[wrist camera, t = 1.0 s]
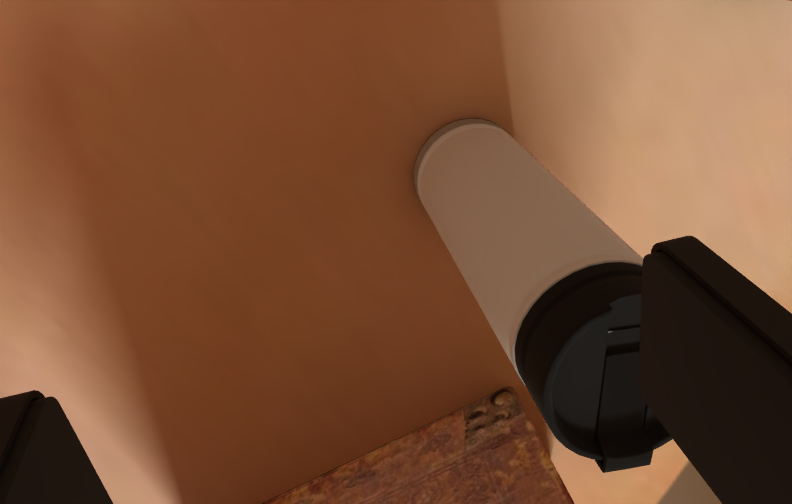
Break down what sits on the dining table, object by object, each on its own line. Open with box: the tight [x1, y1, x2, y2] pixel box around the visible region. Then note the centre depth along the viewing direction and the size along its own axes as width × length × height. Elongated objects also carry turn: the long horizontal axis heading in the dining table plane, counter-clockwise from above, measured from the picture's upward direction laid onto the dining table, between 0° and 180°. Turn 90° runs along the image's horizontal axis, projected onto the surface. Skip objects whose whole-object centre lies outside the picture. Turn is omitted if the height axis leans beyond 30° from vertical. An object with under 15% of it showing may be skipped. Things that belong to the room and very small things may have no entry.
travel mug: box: [414, 119, 673, 473], centre depth 30 cm, size 6×7×20 cm
